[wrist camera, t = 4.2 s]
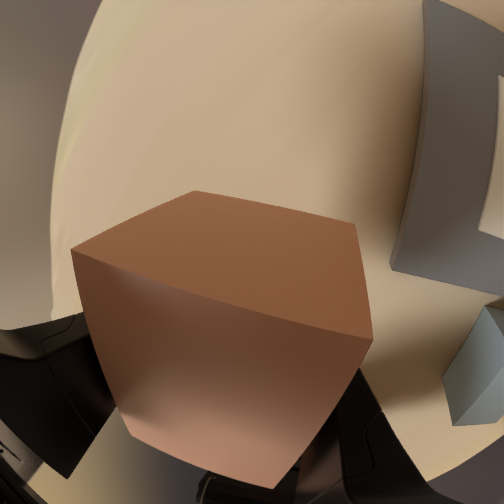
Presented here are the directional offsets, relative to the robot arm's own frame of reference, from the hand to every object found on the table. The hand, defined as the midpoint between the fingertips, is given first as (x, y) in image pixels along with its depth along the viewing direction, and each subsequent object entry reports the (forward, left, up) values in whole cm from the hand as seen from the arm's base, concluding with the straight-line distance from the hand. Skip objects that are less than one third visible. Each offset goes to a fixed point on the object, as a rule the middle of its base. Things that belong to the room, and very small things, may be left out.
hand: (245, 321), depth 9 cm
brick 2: (-5, -17, -8) cm, 20 cm away
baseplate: (+8, -14, -8) cm, 18 cm away
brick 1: (0, 0, -1) cm, 1 cm away
